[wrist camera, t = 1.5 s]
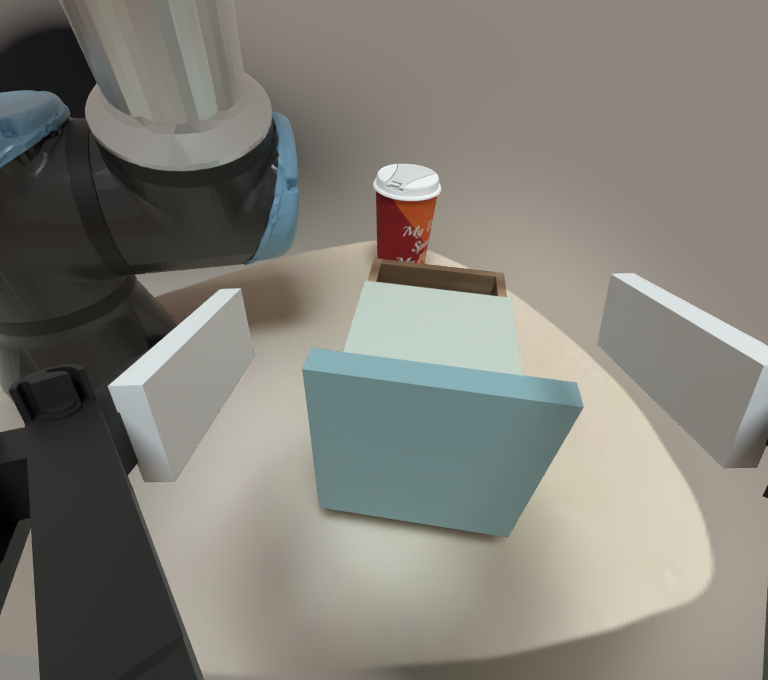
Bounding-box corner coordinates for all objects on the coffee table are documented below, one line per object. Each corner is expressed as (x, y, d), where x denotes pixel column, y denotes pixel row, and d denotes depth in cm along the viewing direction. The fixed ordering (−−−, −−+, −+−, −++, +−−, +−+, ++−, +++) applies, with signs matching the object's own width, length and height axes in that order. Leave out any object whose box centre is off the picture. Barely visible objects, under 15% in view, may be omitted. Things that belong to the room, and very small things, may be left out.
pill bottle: (412, 304, 52) (424, 194, 42) (359, 284, 54) (360, 177, 45) (437, 274, 57) (453, 171, 48) (388, 258, 60) (394, 156, 50)
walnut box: (492, 463, 36) (519, 395, 30) (343, 441, 37) (340, 371, 31) (484, 339, 48) (503, 273, 42) (372, 325, 49) (374, 258, 42)
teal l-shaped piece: (507, 537, 28) (583, 407, 19) (319, 507, 29) (302, 369, 20) (493, 355, 41) (533, 225, 32) (363, 339, 42) (366, 207, 33)
